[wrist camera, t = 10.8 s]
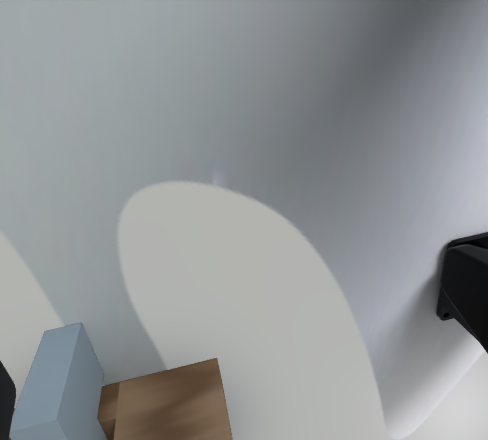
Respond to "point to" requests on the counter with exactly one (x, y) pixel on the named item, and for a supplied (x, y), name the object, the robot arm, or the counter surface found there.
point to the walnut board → (167, 406)
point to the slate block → (61, 390)
